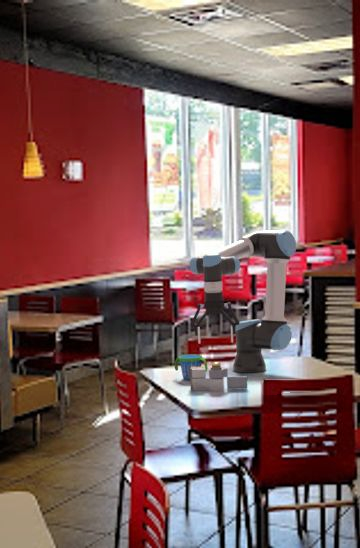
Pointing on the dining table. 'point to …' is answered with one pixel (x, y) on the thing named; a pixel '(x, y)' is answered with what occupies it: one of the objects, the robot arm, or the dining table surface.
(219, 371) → the grey stacked cubes
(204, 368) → the block
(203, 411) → the dining table surface
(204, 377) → the fixed leaf
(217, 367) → the pin
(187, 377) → the snack cup
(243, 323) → the robot arm
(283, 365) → the dining table surface
